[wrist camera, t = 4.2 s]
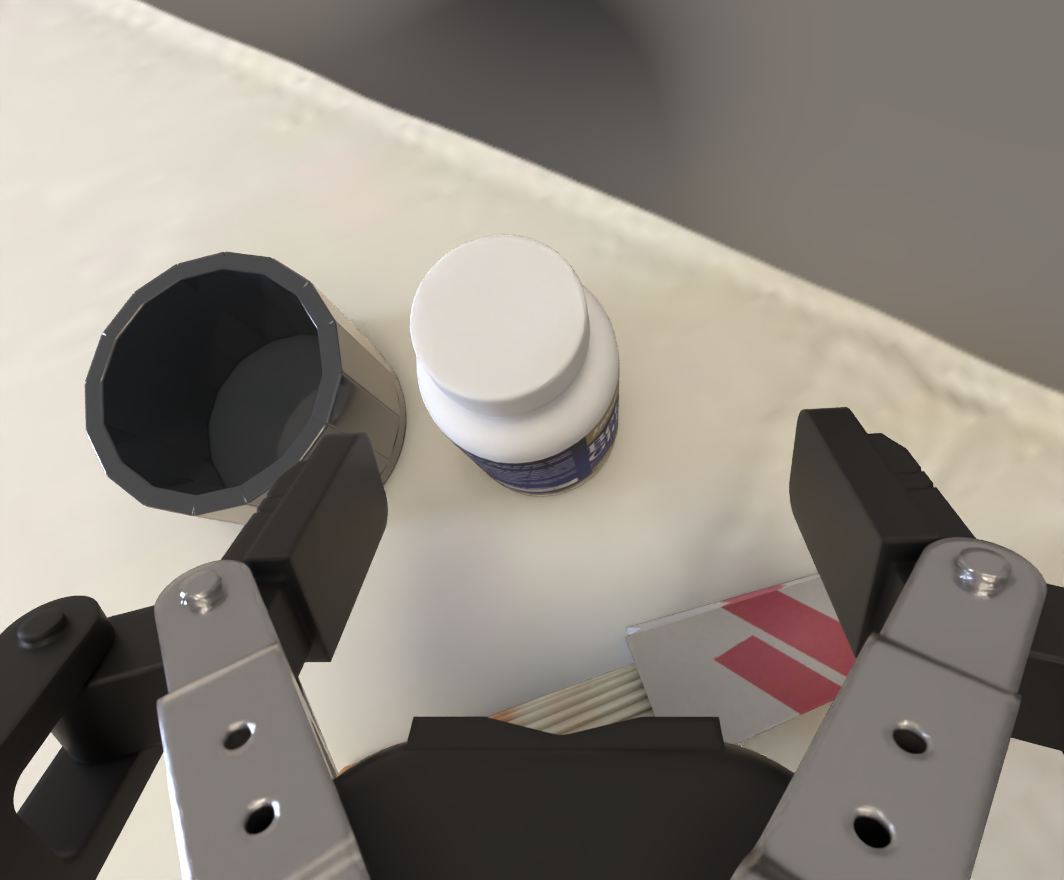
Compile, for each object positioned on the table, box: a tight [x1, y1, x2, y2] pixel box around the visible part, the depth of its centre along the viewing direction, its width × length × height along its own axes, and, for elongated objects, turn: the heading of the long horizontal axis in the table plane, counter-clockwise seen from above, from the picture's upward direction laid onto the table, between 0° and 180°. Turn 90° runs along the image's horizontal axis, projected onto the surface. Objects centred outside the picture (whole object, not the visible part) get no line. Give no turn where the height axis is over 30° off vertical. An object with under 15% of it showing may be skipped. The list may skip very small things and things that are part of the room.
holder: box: [85, 252, 406, 525], centre depth 22 cm, size 8×8×6 cm
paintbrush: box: [339, 574, 857, 775], centre depth 20 cm, size 4×3×20 cm
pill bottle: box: [410, 234, 619, 496], centre depth 19 cm, size 5×5×10 cm
